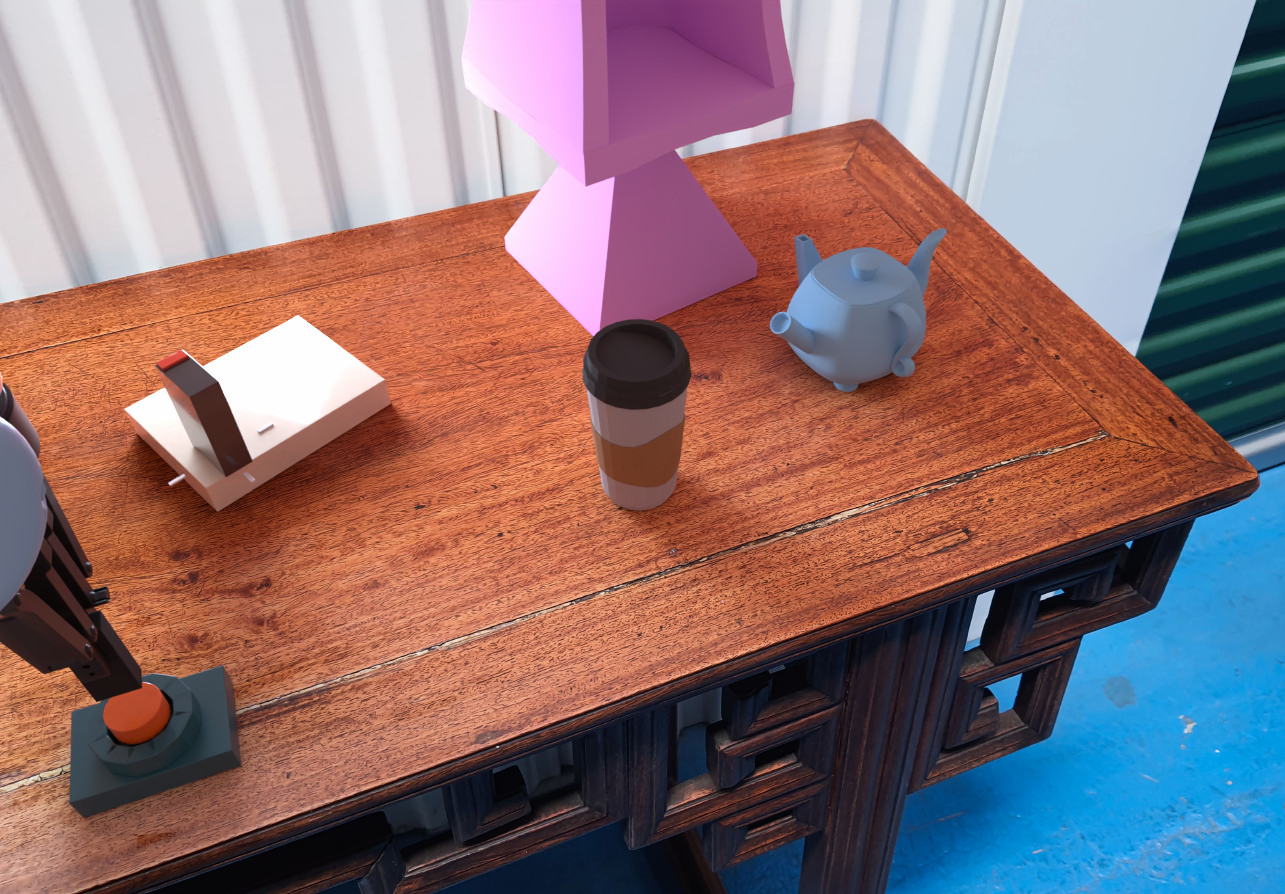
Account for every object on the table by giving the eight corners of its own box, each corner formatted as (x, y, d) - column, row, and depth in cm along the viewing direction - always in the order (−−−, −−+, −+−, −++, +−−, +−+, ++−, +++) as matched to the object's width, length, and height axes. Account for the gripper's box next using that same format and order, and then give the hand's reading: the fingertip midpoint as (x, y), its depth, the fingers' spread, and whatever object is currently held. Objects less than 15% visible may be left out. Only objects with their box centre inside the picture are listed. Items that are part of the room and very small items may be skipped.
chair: (595, 355, 97) (563, -176, 64) (488, 248, 110) (418, -238, 78) (774, 278, 105) (825, -225, 73) (656, 186, 118) (654, -274, 86)
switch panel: (212, 539, 81) (199, 514, 79) (116, 443, 89) (102, 418, 87) (407, 415, 91) (400, 389, 89) (305, 339, 99) (297, 313, 97)
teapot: (789, 299, 103) (800, 203, 94) (924, 319, 100) (948, 223, 92) (761, 396, 92) (771, 298, 84) (911, 422, 90) (936, 323, 82)
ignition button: (113, 752, 64) (102, 739, 63) (113, 706, 66) (102, 692, 65) (172, 734, 65) (162, 720, 64) (169, 688, 67) (160, 674, 66)
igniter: (83, 818, 65) (56, 790, 62) (84, 727, 69) (59, 697, 66) (241, 766, 67) (223, 736, 64) (232, 681, 72) (214, 650, 69)
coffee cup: (644, 436, 89) (642, 301, 78) (708, 488, 84) (715, 352, 74) (570, 481, 85) (557, 345, 74) (633, 538, 80) (628, 403, 70)
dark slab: (253, 461, 83) (218, 378, 76) (226, 477, 82) (188, 394, 75) (218, 430, 86) (182, 347, 79) (192, 445, 84) (152, 362, 78)
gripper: (-150, 351, 49) (58, 623, 66) (-201, 543, 41) (52, 798, 58) (15, 315, 51) (176, 589, 68) (-1, 492, 42) (187, 754, 59)
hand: (119, 685), depth 63 cm, fingers closed
